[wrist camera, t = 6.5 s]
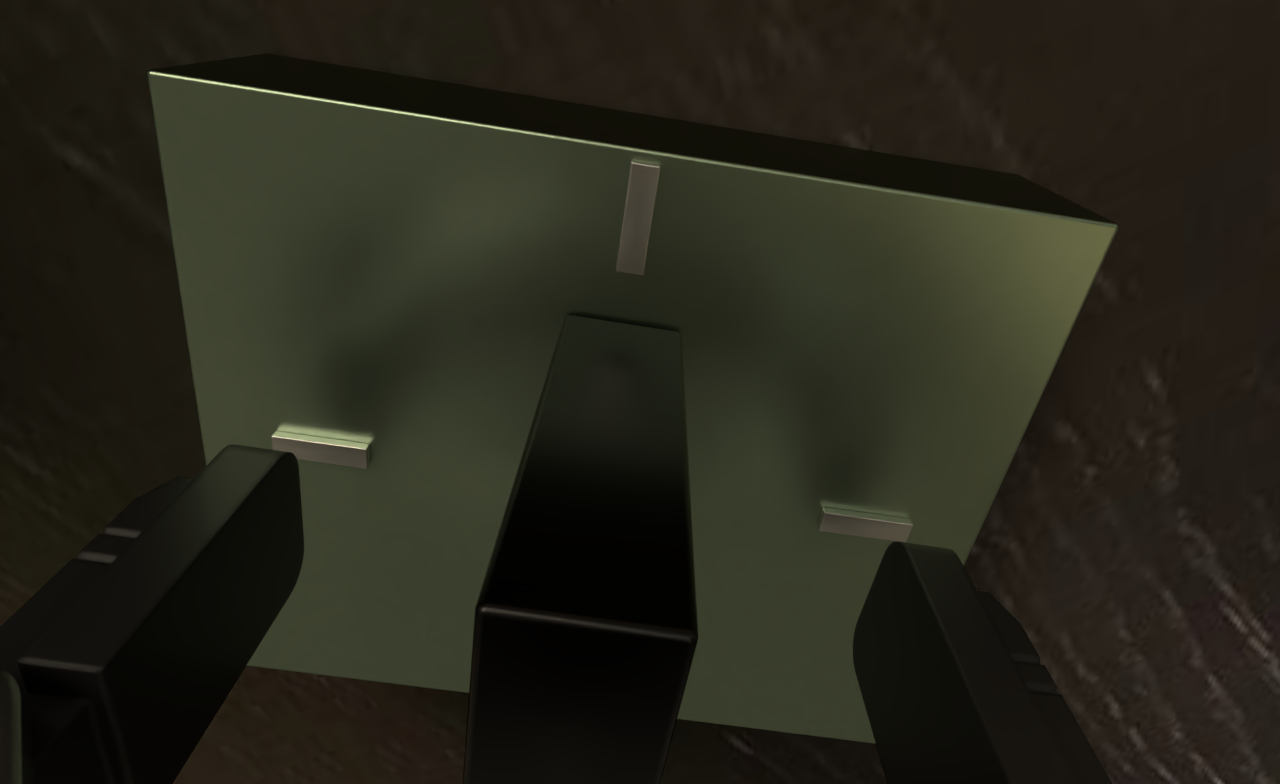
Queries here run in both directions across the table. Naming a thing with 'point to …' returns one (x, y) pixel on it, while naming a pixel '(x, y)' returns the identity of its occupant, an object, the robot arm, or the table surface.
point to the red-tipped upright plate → (590, 573)
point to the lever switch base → (612, 291)
